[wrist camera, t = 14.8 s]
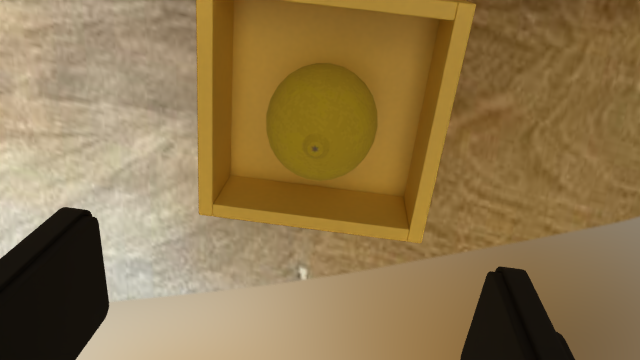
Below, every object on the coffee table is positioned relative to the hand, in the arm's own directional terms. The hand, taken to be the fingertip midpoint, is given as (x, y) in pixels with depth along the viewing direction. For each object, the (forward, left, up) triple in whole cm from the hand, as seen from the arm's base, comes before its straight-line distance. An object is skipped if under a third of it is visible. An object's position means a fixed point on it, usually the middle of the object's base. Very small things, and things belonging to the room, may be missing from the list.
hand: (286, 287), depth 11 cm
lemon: (0, 0, -18) cm, 18 cm away
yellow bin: (0, 0, -18) cm, 18 cm away
